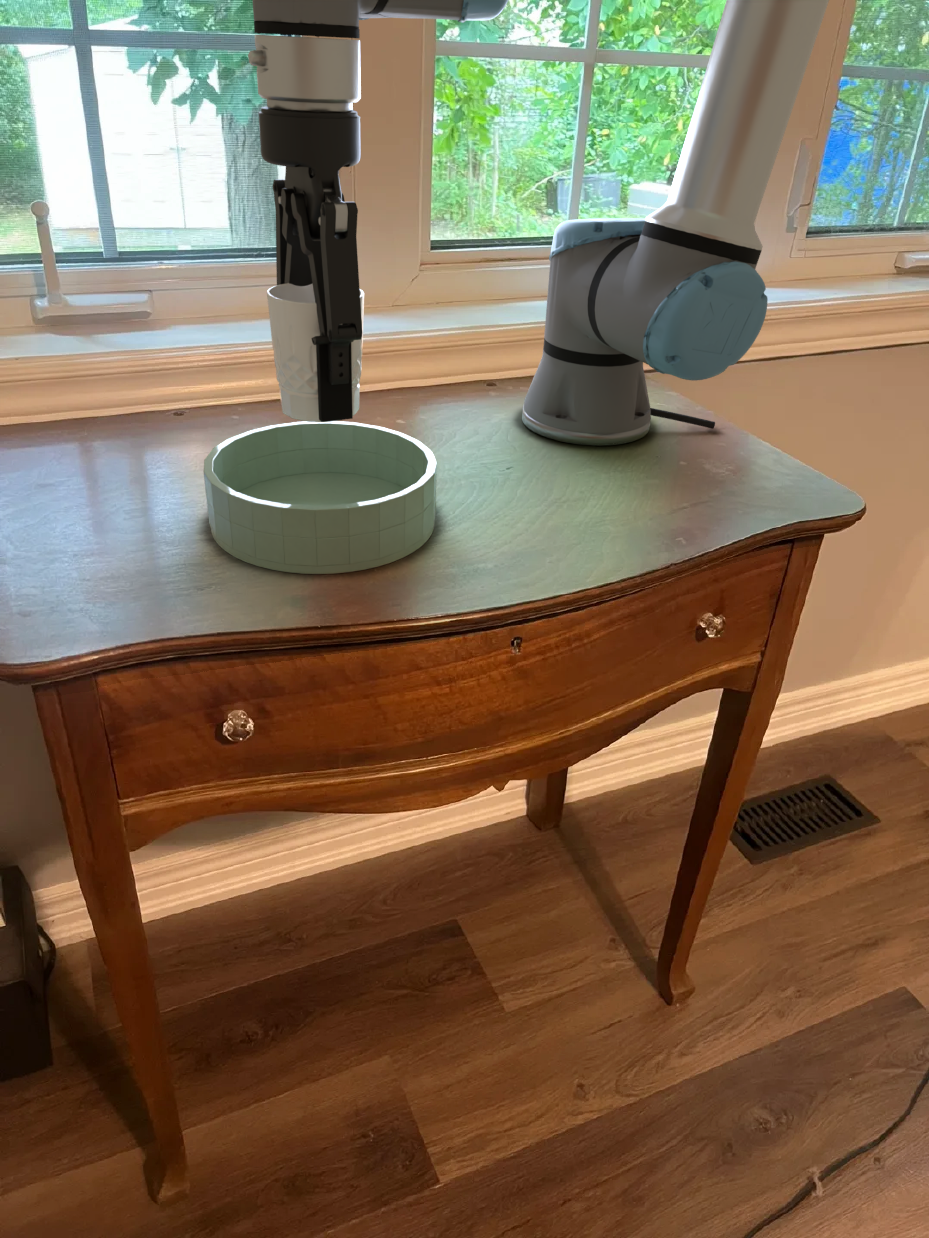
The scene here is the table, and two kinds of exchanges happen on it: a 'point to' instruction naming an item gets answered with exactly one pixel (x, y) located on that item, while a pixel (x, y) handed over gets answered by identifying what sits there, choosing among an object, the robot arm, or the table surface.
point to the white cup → (302, 350)
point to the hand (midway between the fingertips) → (320, 403)
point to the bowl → (321, 496)
